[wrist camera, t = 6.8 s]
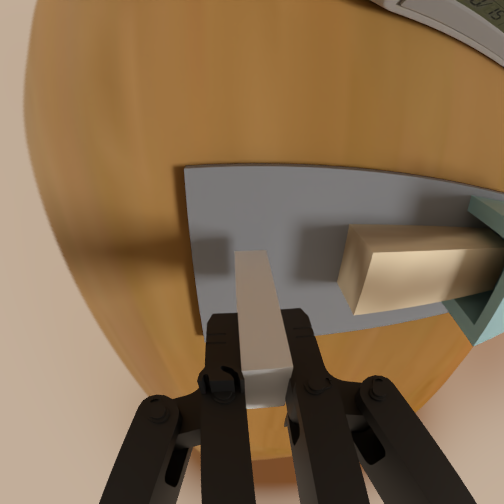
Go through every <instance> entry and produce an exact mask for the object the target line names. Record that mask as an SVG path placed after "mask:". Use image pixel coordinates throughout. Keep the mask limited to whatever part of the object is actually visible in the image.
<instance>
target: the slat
mask: <svg viewBox="0 0 504 504" xmlns="http://www.w3.org/2000/svg"><path fill="white" fill-rule="evenodd" d="M503 267H504V240H503V239H502V238H500V237H499V236H498V235H497V234H495V233H494V232H493V231H492V230H490V229H489V228H472V227H450V226H422V225H379V224H349V229H348V234H347V239H346V244H345V249H344V254H343V258H342V263H341V267H340V271H339V276H338V280H337V283H338V285H339V287H340V289H341V291H342V293H343V295H344V297H345V299H346V301H347V303H348V305H349V307H350V309H351V311H352V313H353V315H361V314H369V313H376V312H383V311H390V310H396V309H402V308H408V307H414V306H420V305H425V304H431V303H436V302H441V301H446V300H451V299H456V298H460V297H465V296H469V295H474V294H478V293H482V292H486V291H490V290H493V288H494V286H495V284H496V282H497V280H498V278H499V276H500V274H501V272H502V270H503Z"/></svg>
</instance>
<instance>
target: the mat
mask: <svg viewBox="0 0 504 504" xmlns="http://www.w3.org/2000/svg"><path fill="white" fill-rule="evenodd" d="M184 176H185V189H186V202H187V213H188V223H189V233H190V242H191V250H192V259H193V267H194V275H195V282H196V289H197V296H198V303H199V310H200V316H201V322H202V328H203V334H204V340H205V342H206V331H207V322H208V320H209V319H210V317H211V315H212V314H215V313H237V301H236V278H235V252H234V251H257V250H266V252H267V256H268V260H269V264H270V268H271V272H272V277H273V281H274V285H275V289H276V293H277V298H278V302H279V306H280V309H293V308H301V309H302V310H303V311H304V312H305V313H306V314H307V315H308V316H309V319H310V322H311V325H312V329H313V332H314V336H317V335H325V334H333V333H341V332H348V331H355V330H362V329H368V328H375V327H380V326H386V325H392V324H397V323H402V322H407V321H412V320H417V319H422V318H426V317H431V316H435V315H439V314H443V313H447V312H448V310H447V309H446V308H445V307H444V305H443V304H442V303H441V302H436V303H431V304H425V305H420V306H414V307H408V308H402V309H396V310H390V311H383V312H376V313H369V314H361V315H353V313H352V311H351V309H350V307H349V305H348V303H347V301H346V299H345V297H344V295H343V293H342V291H341V289H340V287H339V285H338V283H337V280H338V276H339V271H340V267H341V263H342V258H343V254H344V249H345V244H346V239H347V234H348V229H349V224H379V225H422V226H450V227H472V228H489V229H490V230H492V231H493V232H494V233H495V234H497V235H498V236H499V237H500V235H499V234H498V233H497V232H495V231H494V230H493V229H491V228H490V227H489V226H488V225H486V224H485V223H484V222H482V221H481V220H480V219H478V218H477V217H475V216H474V215H473V214H471V213H470V212H468V211H467V210H468V207H469V203H470V199H471V195H473V196H478V197H484V198H489V199H494V200H498V201H503V202H504V193H502V192H498V191H495V190H491V189H486V188H482V187H478V186H473V185H469V184H464V183H459V182H454V181H449V180H444V179H438V178H432V177H426V176H420V175H413V174H406V173H399V172H391V171H383V170H374V169H364V168H353V167H341V166H326V165H306V164H266V163H249V164H209V165H190V166H185V168H184Z"/></svg>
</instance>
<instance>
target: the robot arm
mask: <svg viewBox="0 0 504 504" xmlns="http://www.w3.org/2000/svg"><path fill="white" fill-rule="evenodd" d="M234 252H235V278H236V301H237V313H215V314H212V315H211V317H210V319H209V320H208V322H207V331H206V352H205V368H204V369H203V370H202V371H201V372H200V373H199V376H198V380H197V382H198V385H199V388H198V390H196V391H195V392H193V393H191V394H189V395H186V396H183V397H179V398H175V399H171V398H169V397H167V396H165V395H153V396H149V397H148V398H146V399H145V400H143V401H142V403H141V404H140V406H139V407H138V409H137V411H136V414H135V416H134V419H133V421H132V423H131V425H130V428H129V430H128V432H127V435H126V437H125V439H124V442H123V444H122V446H121V449H120V451H119V454H118V456H117V459H116V461H115V464H114V466H113V469H112V471H111V474H110V476H109V479H108V481H107V484H106V487H105V489H104V492H103V494H102V497H101V500H100V502H99V504H176V501H177V498H178V495H179V492H180V488H181V485H182V482H183V478H184V475H185V472H186V468H187V465H188V462H189V459H190V455H191V452H192V448H193V447H194V446H197V445H201V493H202V504H256V500H255V492H254V482H253V472H252V463H251V453H250V442H249V432H248V421H247V410H246V409H253V408H266V407H276V406H284V405H285V401H286V406H287V415H286V418H285V423H284V427H287V426H288V432H289V438H290V444H291V450H292V456H293V462H294V468H295V474H296V480H297V485H298V491H299V498H300V503H301V504H370V503H369V498H368V494H367V491H366V486H365V482H364V478H363V475H362V471H361V467H360V464H361V465H362V467H363V469H364V470H365V472H366V474H367V475H368V477H369V479H370V480H371V482H372V484H373V485H374V487H375V489H376V490H377V492H378V494H379V495H380V497H381V499H382V500H383V502H384V504H477V503H476V502H475V500H474V499H473V497H472V495H471V494H470V492H469V491H468V489H467V488H466V486H465V485H464V483H463V482H462V480H461V478H460V477H459V475H458V474H457V472H456V471H455V470H454V468H453V467H452V465H451V463H450V462H449V461H448V459H447V458H446V456H445V455H444V453H443V452H442V450H441V449H440V447H439V446H438V445H437V443H436V442H435V440H434V439H433V438H432V436H431V435H430V433H429V432H428V430H427V429H426V428H425V426H424V425H423V423H422V422H421V421H420V419H419V418H418V416H417V415H416V414H415V412H414V411H413V410H412V408H411V407H410V405H409V404H408V403H407V401H406V400H405V399H404V397H403V396H402V395H401V393H400V392H399V391H398V389H397V388H396V387H395V385H394V384H393V383H392V382H391V381H390V380H389V379H388V378H385V377H383V376H377V375H374V376H371V377H368V378H367V379H365V380H364V381H363V382H362V383H358V382H348V381H342V380H339V379H337V378H334V377H333V376H332V375H330V374H329V372H328V371H327V370H326V368H325V366H324V363H323V360H322V357H321V353H320V350H319V347H318V344H317V341H316V338H315V336H314V332H313V329H312V325H311V322H310V319H309V316H308V315H307V314H306V313H305V312H304V311H303V310H302V309H301V308H293V309H280V306H279V302H278V298H277V293H276V289H275V285H274V281H273V277H272V272H271V268H270V264H269V260H268V256H267V252H266V250H257V251H234ZM359 462H360V463H359Z"/></svg>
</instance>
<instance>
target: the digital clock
mask: <svg viewBox="0 0 504 504" xmlns="http://www.w3.org/2000/svg"><path fill="white" fill-rule="evenodd" d="M370 1H372V2H374V3H376V4H378V5H380V6H381V7H383V8H385V9H387V10H389V11H391V12H394V13H397V14H400V15H402V16H405V17H408V18H410V19H413V20H416V21H418V22H421V23H423V24H426V25H428V26H430V27H433V28H435V29H437V30H439V31H442V32H444V33H446V34H448V35H450V36H452V37H454V38H456V39H458V40H460V41H462V42H464V43H466V44H468V45H469V46H471V47H473V48H475V49H476V50H478V51H480V52H481V53H483V54H485V55H486V56H488V57H490V58H491V59H493V60H494V61H496V62H497V63H499V64H500V65H502V66H503V67H504V0H370Z"/></svg>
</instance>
